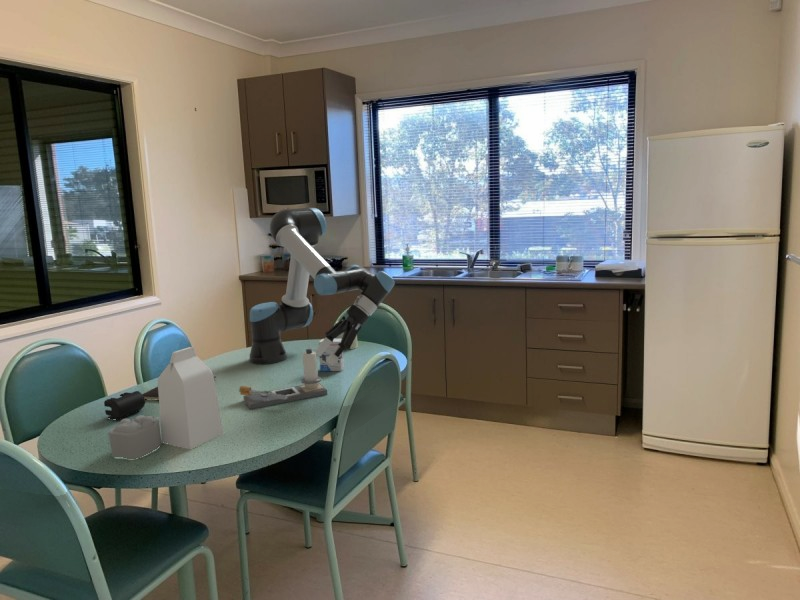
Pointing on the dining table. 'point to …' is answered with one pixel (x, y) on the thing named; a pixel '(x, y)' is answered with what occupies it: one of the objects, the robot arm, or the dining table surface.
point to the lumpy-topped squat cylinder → (135, 437)
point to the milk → (188, 401)
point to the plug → (310, 370)
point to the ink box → (323, 363)
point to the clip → (260, 393)
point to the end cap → (124, 405)
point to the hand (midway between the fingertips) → (322, 358)
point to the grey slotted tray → (296, 391)
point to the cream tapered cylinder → (354, 344)
